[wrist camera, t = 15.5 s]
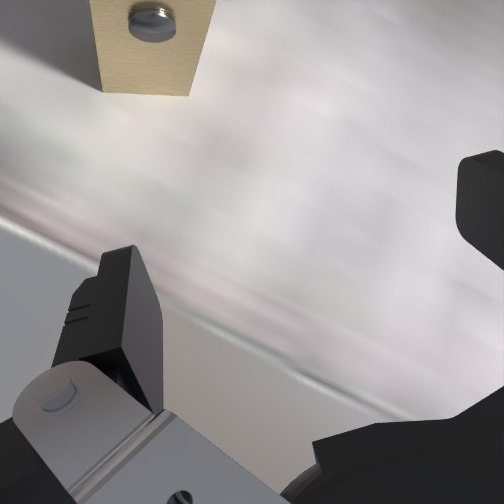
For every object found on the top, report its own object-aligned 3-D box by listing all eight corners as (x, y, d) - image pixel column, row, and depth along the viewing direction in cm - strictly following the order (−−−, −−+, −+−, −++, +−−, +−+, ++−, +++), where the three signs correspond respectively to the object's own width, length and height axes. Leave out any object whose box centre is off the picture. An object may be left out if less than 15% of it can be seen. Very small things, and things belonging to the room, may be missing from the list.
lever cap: (185, 39, 24) (214, -101, 15) (188, 101, 24) (221, -6, 15) (100, 32, 23) (80, -125, 14) (103, 97, 23) (84, -21, 14)
